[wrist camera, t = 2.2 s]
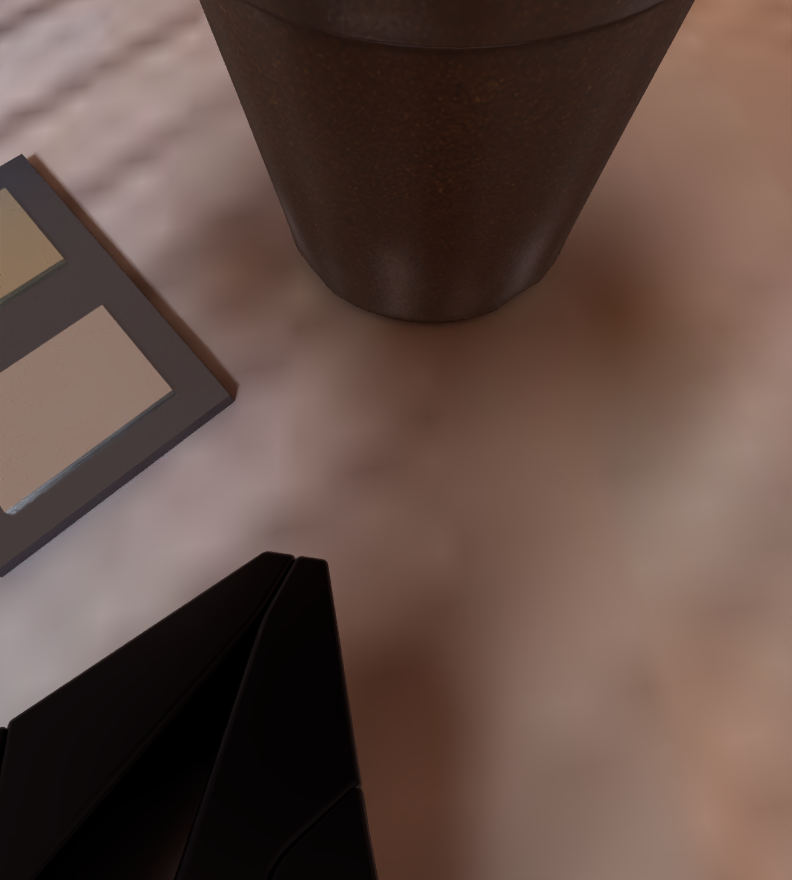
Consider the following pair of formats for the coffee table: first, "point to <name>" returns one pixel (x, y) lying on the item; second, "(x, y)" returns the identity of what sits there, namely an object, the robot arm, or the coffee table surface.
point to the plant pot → (438, 133)
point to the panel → (78, 371)
